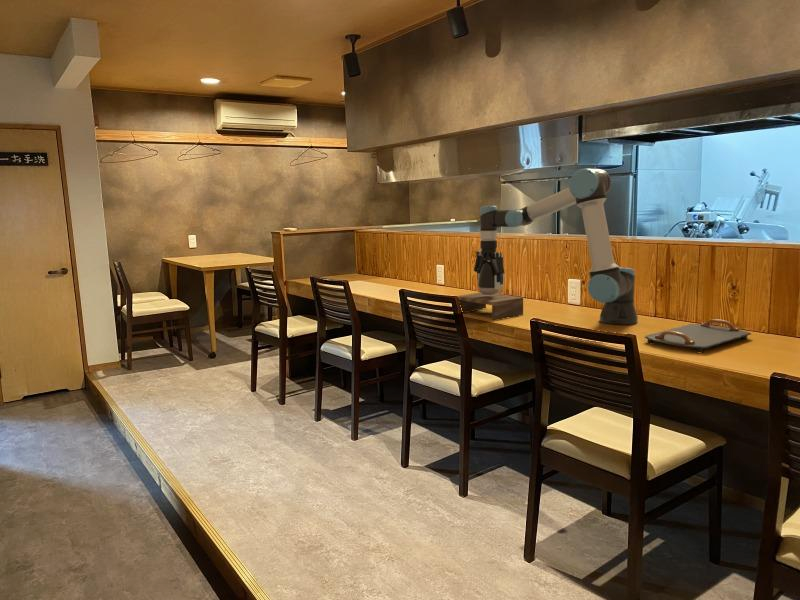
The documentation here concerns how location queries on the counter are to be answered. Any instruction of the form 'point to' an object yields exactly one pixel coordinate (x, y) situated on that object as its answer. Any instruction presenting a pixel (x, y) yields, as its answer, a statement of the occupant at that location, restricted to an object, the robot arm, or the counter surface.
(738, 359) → the counter surface
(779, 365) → the counter surface
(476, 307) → the walnut shelf
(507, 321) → the counter surface
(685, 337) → the serving board
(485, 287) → the black rounded dome
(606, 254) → the robot arm
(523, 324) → the counter surface
